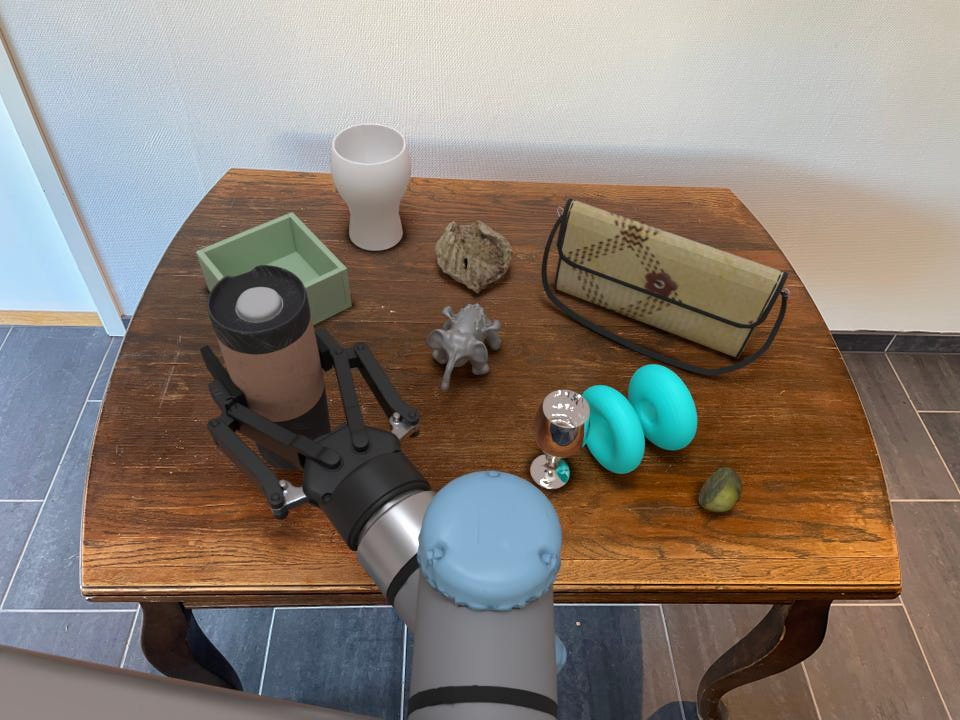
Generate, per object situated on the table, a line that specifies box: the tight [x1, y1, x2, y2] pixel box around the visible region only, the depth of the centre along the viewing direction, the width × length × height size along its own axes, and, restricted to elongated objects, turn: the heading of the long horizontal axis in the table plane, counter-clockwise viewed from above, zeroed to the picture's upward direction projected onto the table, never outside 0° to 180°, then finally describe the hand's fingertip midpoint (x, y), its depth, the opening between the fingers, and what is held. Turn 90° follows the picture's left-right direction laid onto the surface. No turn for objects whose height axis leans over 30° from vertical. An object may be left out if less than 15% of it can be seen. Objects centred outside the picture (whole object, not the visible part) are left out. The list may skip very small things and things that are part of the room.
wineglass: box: [529, 389, 591, 490], centre depth 72 cm, size 6×6×12 cm
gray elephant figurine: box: [425, 302, 502, 393], centre depth 82 cm, size 9×12×8 cm
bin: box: [195, 211, 353, 326], centre depth 89 cm, size 14×14×7 cm
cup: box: [329, 122, 412, 252], centre depth 95 cm, size 11×11×15 cm
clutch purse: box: [541, 198, 791, 377], centre depth 85 cm, size 30×7×15 cm, turn 63°
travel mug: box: [206, 265, 332, 471], centre depth 61 cm, size 8×8×20 cm
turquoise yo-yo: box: [581, 363, 698, 475], centre depth 76 cm, size 10×10×10 cm
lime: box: [698, 466, 743, 513], centre depth 74 cm, size 4×5×5 cm
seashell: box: [434, 220, 514, 294], centre depth 95 cm, size 11×7×10 cm
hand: (250, 336), depth 62 cm, fingers closed on travel mug, 7 cm apart
